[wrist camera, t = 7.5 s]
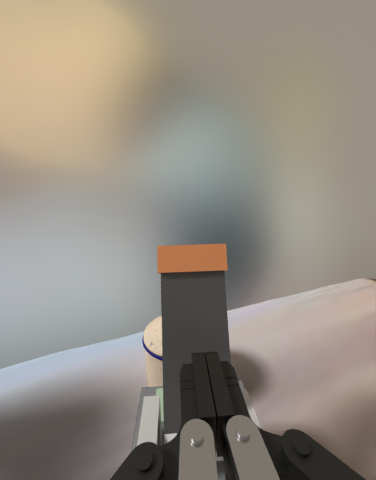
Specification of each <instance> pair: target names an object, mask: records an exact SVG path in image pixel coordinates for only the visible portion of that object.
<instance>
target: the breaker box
mask: <svg viewBox="0 0 376 480" xmlns="http://www.w3.org/2000/svg"><path fill="white" fill-rule="evenodd" d="M238 382H239V386H240V388H241V391H242V394H243V397H244V400H245V403H246V406H247V409H248V412H249V415H250V417H251V419H252V420H253V422H254V423H255V424H256V425H257V426H258V427H259V428H261V427H260V424H259V421H258V418H257V415H256V413H255V410H254V407H253V404H252V402H251V399H250V396H249V393H248V391H247V389H245V388H244V386H243V383H242V381H238ZM144 442H153V443H155V444H156V445H158V446H159V447H160V446H162V445H164V414H163V386H156V387H142V389H141V396H140V402H139V408H138V414H137V420H136V426H135V433H134V439H133V445H132V451H133V449H134V448H135V447H137V446H138V445H139V444H141V443H144ZM132 451H131V452H132ZM216 466H217V476H218V480H225V465H224V460H222V461H216Z"/></svg>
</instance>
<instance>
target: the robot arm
mask: <svg viewBox="0 0 376 480" xmlns="http://www.w3.org/2000/svg"><path fill="white" fill-rule="evenodd" d="M191 358H192V363H191V364H183V365H182V368H181V370H180V398H181V426H180V429H179V431H178V433H177V435H176V436H175V437H174V438H173V439H172V440H171V441H169V442H168V443H166V444H164V445H162V446H160V447H159V446H158V445H156V444H155V443H153V442H144V443H141V444H139V445H138V446H137V447H135V448H134V449H133V451H132V452H131V453H130V454H129V456H128V457H127V458H126V460H125V461H124V462H123V463H122V465H121V466H120V467H119V469H118V470H117V471H116V473H115V474H114V475H113V476H112V478H111V479H110V480H218V476H217V466H216V453H217V457H223V460H224V465H225V480H365V479H364V478H363V477H361V476H360V475H359V474H358V473H356V472H355V471H354V470H352V469H351V468H350V467H348V466H347V465H346V464H345V463H343V462H342V461H341V460H339V459H338V458H337V457H335V456H334V455H333V454H332V453H330V452H329V451H328V450H326V449H325V448H324V447H322V446H321V445H320V444H319V443H317V442H316V441H315V440H313V439H312V438H311V437H309V436H308V435H307V434H305V433H304V432H302V431H299V430H296V429H290V430H287V431H286V432H285V433H284V434H283V436H279V435H276V434H272V433H269V432H266V431H264V430H262V429H261V428H259V427H258V426H257V425H256V424H255V423H254V422H253V420H252V419H251V417H250V415H249V412H248V409H247V406H246V403H245V400H244V397H243V394H242V391H241V388H240V386H239V382H238V379H237V376H236V373H235V370H234V368H233V367H232V365H231V364H230V363H229V362H228V361H220V359H219V355H218V352H217V351H214V352H205V354H204V352H200V353H192V354H191Z"/></svg>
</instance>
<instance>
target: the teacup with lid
mask: <svg viewBox="0 0 376 480" xmlns="http://www.w3.org/2000/svg"><path fill="white" fill-rule="evenodd" d="M143 346H144V348H145V355H146V368H147V381H148V387H156V386H163V360H162V316H160V317H158V318H156V319H154V320H153V321H152V322H151V323H150V324H149V325H148V326H147V327H146V330H145V331H144V334H143Z"/></svg>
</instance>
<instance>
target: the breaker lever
mask: <svg viewBox="0 0 376 480" xmlns="http://www.w3.org/2000/svg"><path fill="white" fill-rule="evenodd" d="M157 247H158V248H157V249H158V273H161V301H162V302H161V304H162V360H163V414H164V444H166V443H168V442H169V441H171V440H172V439H173V438H174V437H175V436H176V435H177V433H178V431H179V429H180V426H181V398H180V370H181V368H182V365H183V364H191V363H192V358H191V354H192V353H200V352H204V354H205V352H214V351H217V352H218V355H219V359H220V361H228V362H229V363H230V349H229V334H228V320H227V306H226V292H225V277H224V271H225V270H227V256H226V244H205V245H175V246H157ZM230 364H231V363H230ZM222 460H223V457H217V453H216V461H222Z"/></svg>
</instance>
